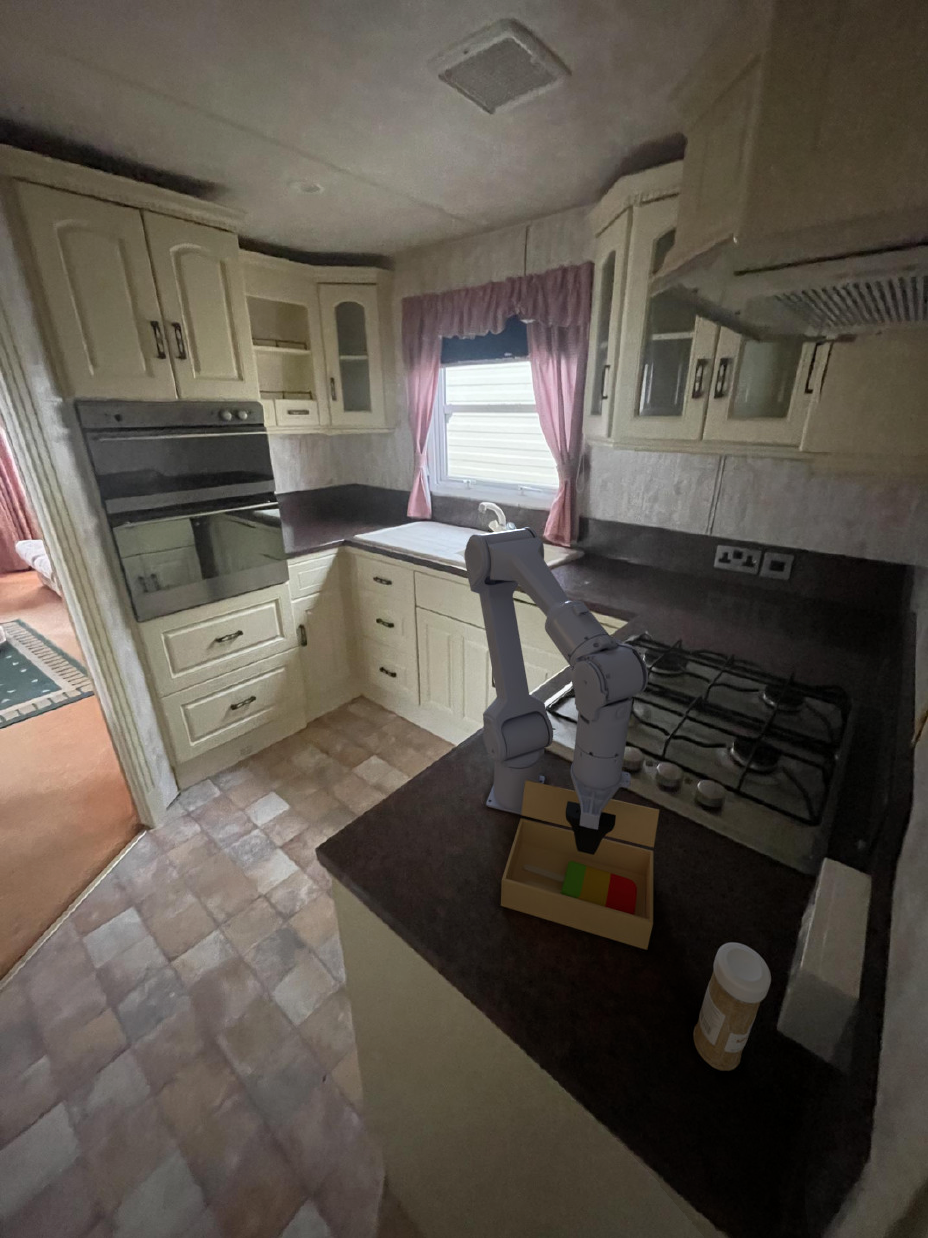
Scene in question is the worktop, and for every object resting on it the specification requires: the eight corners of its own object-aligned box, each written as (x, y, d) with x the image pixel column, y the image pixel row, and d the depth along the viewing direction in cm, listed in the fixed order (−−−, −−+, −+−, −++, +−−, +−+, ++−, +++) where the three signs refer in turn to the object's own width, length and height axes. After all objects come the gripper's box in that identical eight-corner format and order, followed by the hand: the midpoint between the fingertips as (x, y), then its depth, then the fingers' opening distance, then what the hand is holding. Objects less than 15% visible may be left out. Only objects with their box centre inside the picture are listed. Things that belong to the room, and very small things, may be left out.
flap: (521, 815, 74) (521, 814, 75) (653, 847, 69) (653, 846, 69) (525, 780, 74) (525, 779, 74) (659, 810, 68) (659, 809, 69)
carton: (519, 842, 77) (520, 818, 75) (648, 876, 71) (653, 850, 69) (500, 905, 67) (501, 880, 65) (647, 950, 62) (653, 923, 60)
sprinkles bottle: (742, 1081, 50) (775, 999, 45) (692, 1061, 52) (718, 979, 46) (738, 1031, 54) (768, 950, 49) (691, 1013, 56) (715, 933, 50)
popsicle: (632, 926, 64) (634, 916, 64) (517, 887, 69) (518, 877, 69) (636, 889, 69) (638, 880, 68) (528, 855, 74) (529, 846, 73)
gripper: (633, 792, 53) (618, 883, 59) (637, 714, 66) (623, 795, 71) (565, 777, 55) (556, 866, 61) (581, 704, 68) (572, 784, 73)
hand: (589, 827), depth 66 cm, fingers open, 7 cm apart
